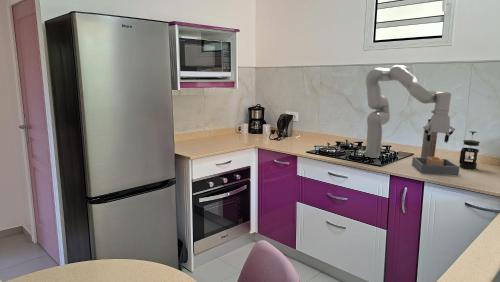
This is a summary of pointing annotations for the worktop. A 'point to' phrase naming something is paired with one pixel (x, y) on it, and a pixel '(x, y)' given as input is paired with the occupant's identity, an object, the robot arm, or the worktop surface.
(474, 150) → the french press
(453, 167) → the charcoal crate
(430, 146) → the thermos bottle
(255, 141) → the worktop surface
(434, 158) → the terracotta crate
